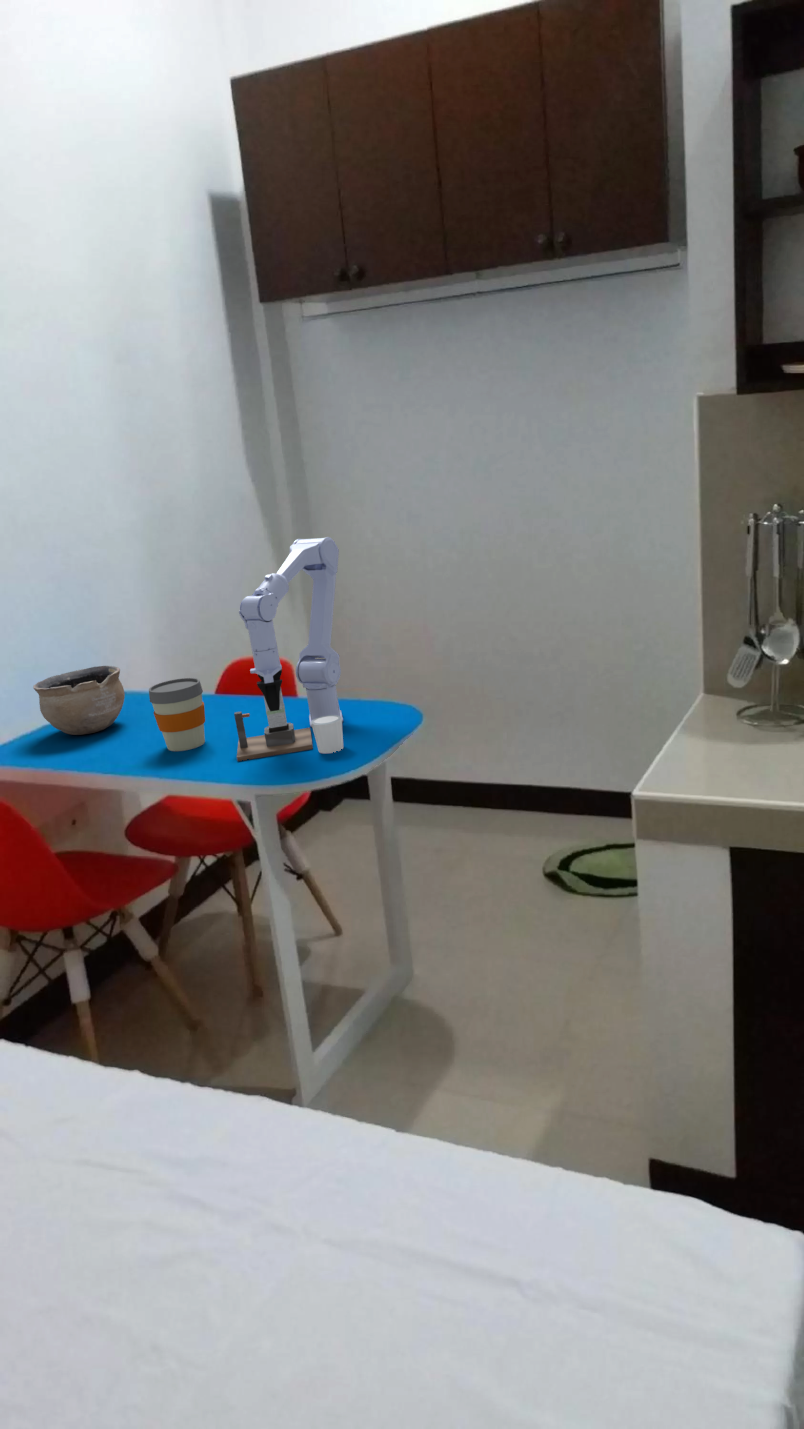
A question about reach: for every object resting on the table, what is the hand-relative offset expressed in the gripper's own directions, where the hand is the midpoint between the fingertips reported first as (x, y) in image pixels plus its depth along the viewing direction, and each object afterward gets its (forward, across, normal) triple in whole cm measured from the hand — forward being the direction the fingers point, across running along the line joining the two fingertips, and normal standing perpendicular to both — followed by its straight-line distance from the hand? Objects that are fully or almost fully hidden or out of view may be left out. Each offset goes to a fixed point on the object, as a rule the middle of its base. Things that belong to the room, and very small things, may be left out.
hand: (274, 706), depth 248 cm
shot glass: (+10, +9, +11) cm, 17 cm away
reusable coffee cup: (+10, -13, -23) cm, 28 cm away
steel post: (+4, 0, 0) cm, 4 cm away
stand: (+9, 0, -1) cm, 10 cm away
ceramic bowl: (+10, -42, -51) cm, 67 cm away
